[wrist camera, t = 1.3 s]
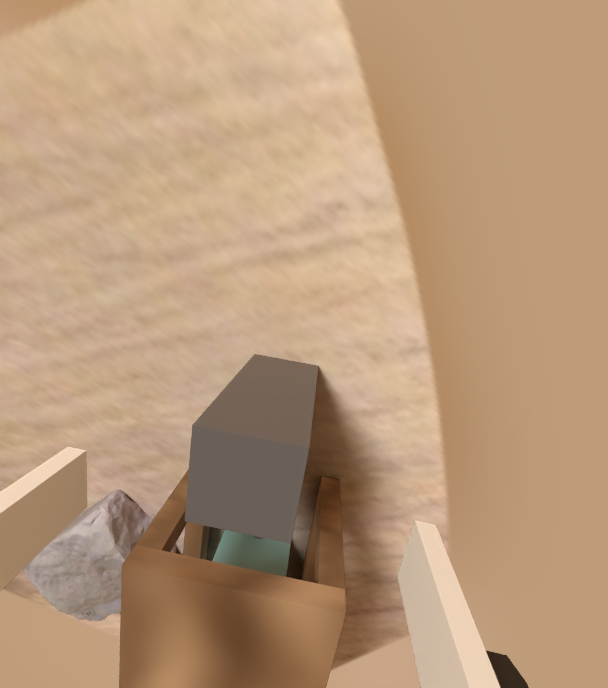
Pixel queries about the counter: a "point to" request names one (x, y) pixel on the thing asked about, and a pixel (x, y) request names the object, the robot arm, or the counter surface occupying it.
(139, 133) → the counter surface
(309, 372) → the tethered block
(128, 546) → the stone block
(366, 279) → the counter surface
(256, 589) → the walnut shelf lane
